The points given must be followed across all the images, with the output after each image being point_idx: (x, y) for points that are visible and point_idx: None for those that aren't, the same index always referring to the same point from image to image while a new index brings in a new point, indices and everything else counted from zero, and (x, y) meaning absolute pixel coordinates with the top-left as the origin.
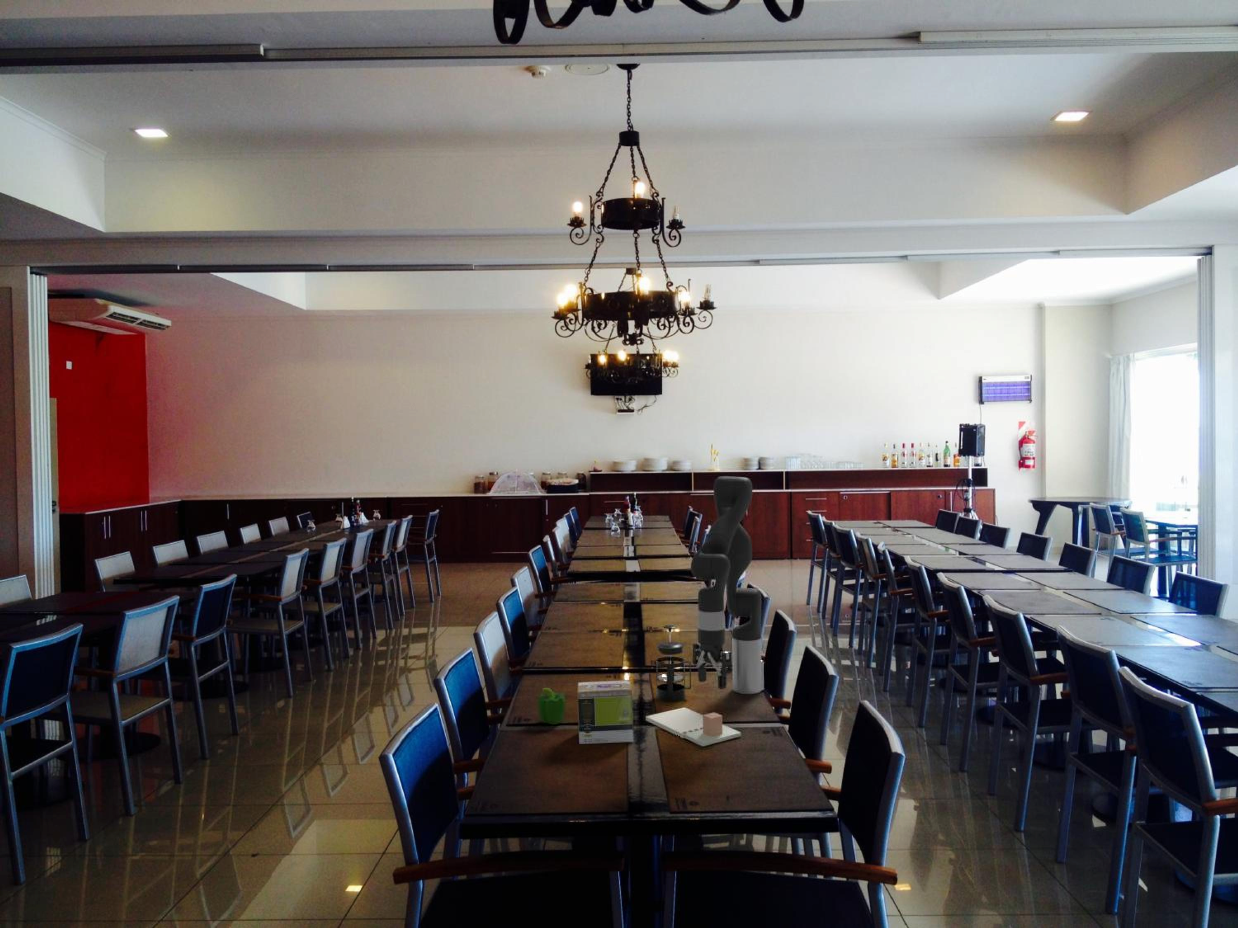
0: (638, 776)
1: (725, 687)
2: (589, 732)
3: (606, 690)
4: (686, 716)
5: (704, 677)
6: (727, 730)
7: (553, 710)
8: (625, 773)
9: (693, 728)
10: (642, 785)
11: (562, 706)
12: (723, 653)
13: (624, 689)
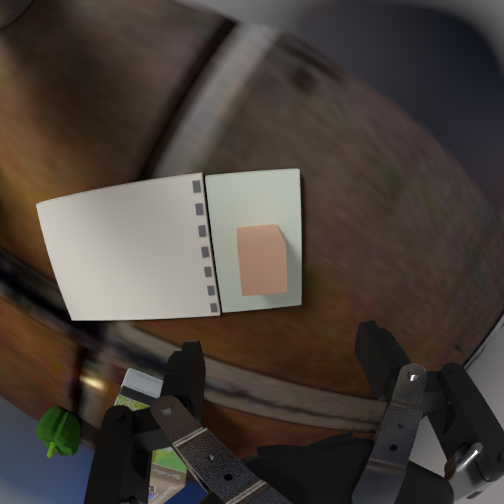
0: (332, 419)
1: (372, 321)
2: None
3: (168, 497)
4: (96, 237)
5: (199, 361)
6: (261, 194)
7: (78, 441)
8: (311, 427)
9: (194, 272)
10: (358, 419)
11: (69, 435)
12: (480, 488)
13: (177, 489)
